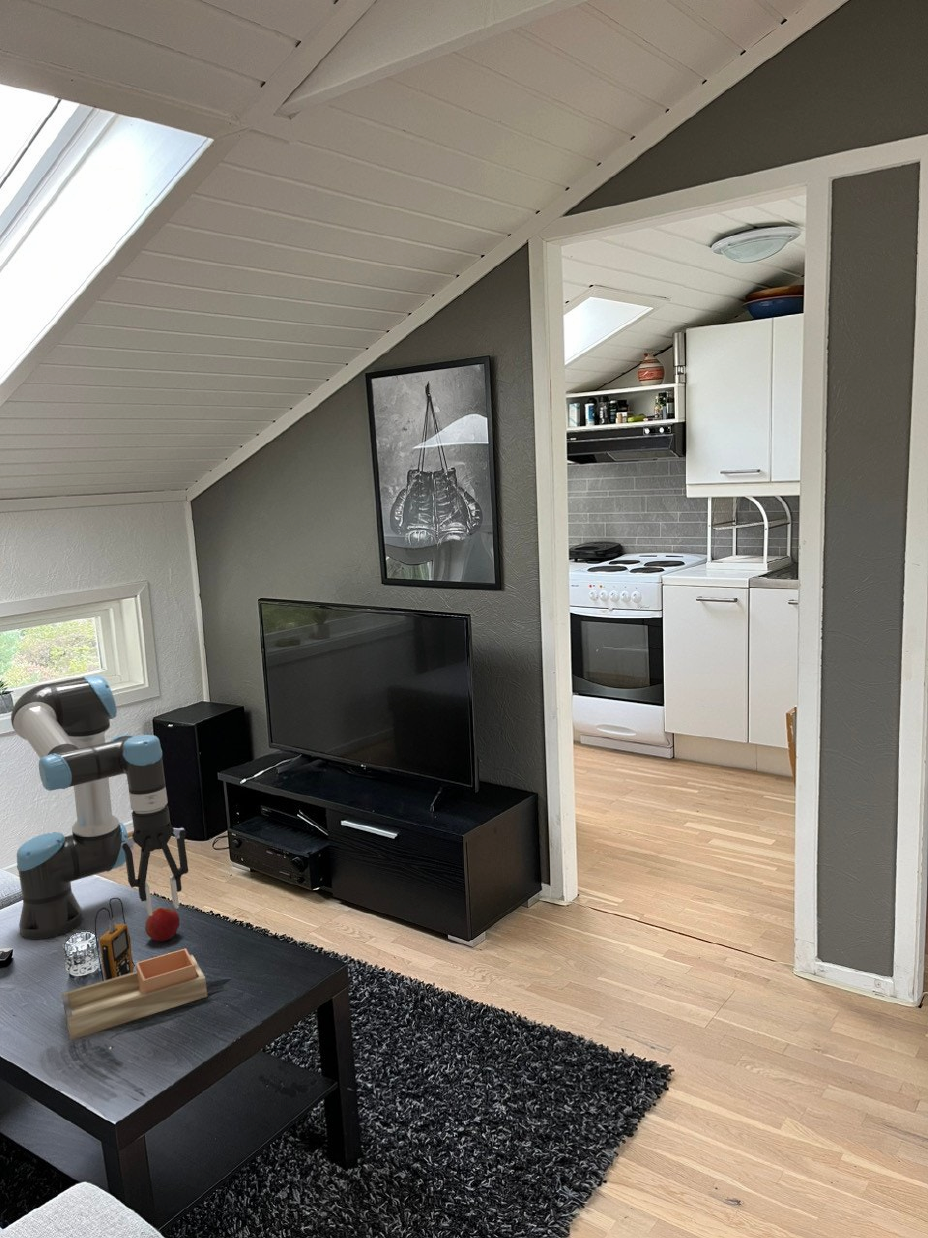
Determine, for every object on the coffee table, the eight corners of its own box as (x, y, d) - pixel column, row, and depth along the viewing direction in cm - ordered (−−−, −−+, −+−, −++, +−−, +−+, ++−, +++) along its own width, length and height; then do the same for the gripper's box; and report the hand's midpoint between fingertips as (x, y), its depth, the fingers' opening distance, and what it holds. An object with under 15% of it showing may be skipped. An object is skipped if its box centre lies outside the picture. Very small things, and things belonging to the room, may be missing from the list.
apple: (179, 944, 234) (175, 913, 233) (144, 948, 233) (140, 918, 231) (183, 929, 241) (179, 900, 240) (150, 934, 240) (146, 904, 239)
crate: (138, 988, 212) (135, 963, 211) (188, 972, 217) (185, 948, 216) (146, 1007, 205) (143, 981, 204) (198, 990, 210) (195, 965, 209)
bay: (64, 1012, 207) (61, 993, 206) (194, 972, 220) (192, 954, 219) (71, 1040, 196) (68, 1020, 196) (207, 996, 209) (205, 977, 208)
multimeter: (137, 1004, 209) (126, 919, 206) (96, 1002, 211) (84, 917, 208) (171, 969, 223) (160, 888, 220) (132, 967, 225) (121, 887, 222)
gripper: (108, 823, 197) (122, 928, 201) (196, 803, 206) (208, 904, 209) (103, 812, 204) (117, 914, 208) (188, 793, 212) (200, 892, 216)
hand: (162, 909), depth 208 cm, fingers open, 5 cm apart
